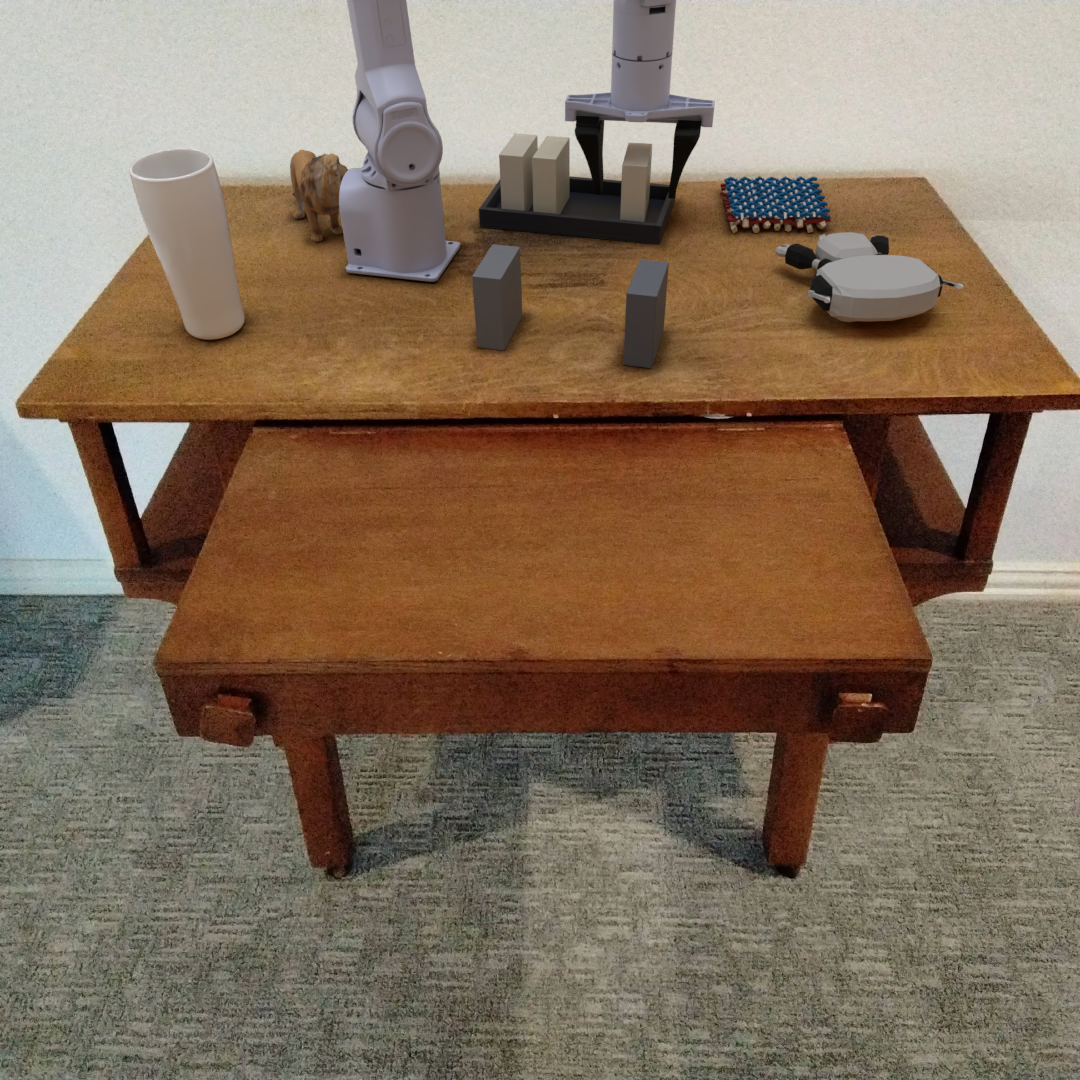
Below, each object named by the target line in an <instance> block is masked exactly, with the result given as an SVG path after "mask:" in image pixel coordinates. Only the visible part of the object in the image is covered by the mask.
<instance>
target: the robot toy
mask: <svg viewBox="0 0 1080 1080" xmlns="http://www.w3.org/2000/svg"><path fill="white" fill-rule="evenodd" d="M816 243H817V244H816V247H815V251H814V250H813V249H812V248H810V247H808V246H805V245H803V244H801V243H797V242H796V243H792V244H787V243H786V244H782V245H779V246H776V248H775V250H774V253H775V255H776V256H777V257H779V258H784V261H785V262H784V264H786V265H788V266H790V267H793V268H795V269H797V270H806V269H811V268H813V270H814V271H815V272H816V274H815V275H816V276H814V277H812V278H811V282H810V289H809V290H807V298H810V299H812V300H813V301H814V302H815V303H816V304H817V306H819V308H820V309H822V311H825V312H827V314H828V315H829V316H830V317H832V318H835V319H836V320H838V321H840V322H843V323H854V322H892V321H897V320H902V319H907V318H911V317H915V316H918V315H922V314H924V313H926V312H929V310H931V309H933V308H934V307H935V306H936V305H937V302H938V298H939V297H941V295H942V290H943V287H944V285H945V286H949V287H952V288H955V289H957V290H962V289H964V285H963V284H962V283H956V282H953V281H948V280H945V279H944V277H942V276H941V275H940V274H939V273H937V272H936V271H935V270H934V269H932V267H930V266H929V265H927V264H926V263H925V262H923V261H922V260H921V259H920V258H916V257H911V256H906V255H897V254H890V238H889V237H887V236H885V235H872V236H870V238H868V237H866V235H865V234H864V233H860V232H854V231H853V232H852V231H849V232H846V231H845V232H841V231H840V232H837V233H836V232H835V233H829V234H828V235H826V233H823V234H821V235H819V236H818V241H817V242H816Z"/></svg>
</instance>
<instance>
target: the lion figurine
mask: <svg viewBox="0 0 1080 1080" xmlns="http://www.w3.org/2000/svg"><path fill="white" fill-rule="evenodd" d="M290 159H291V160H290V164H289V170H290V171H289V172H290V173H289V174H290V181H291V185H292V186H291V187H292V190H293V192H292V196H293V197H294V203H295V210H294V213H293V218H294V220H295V219H296V220H300V219H303V218H305V216H306V218H307V220H308V224H309V228H310V231H311V235H310V240H311V241H312V242H313V243H314V242H316V243H318V242H321V241H323V240H324V238H323V231H322V229H321V227H320V223H319V220H318V214H320V215H321V216H326V215H327V216H329V228H330V230H331V231H332V232H333V233H334V234H335V235H342V234H343V228H342V225H340V220H339V216H340V209H339V192H340V185H341V182H342V179H343V177H344V175H345V173H346V172H347V171H348V170H349V169H348V167H347V166H346V165H344V164H342V163H341V161H340V157H339V156H338V155H337V154H335V153H329V154H328V153H323V154H321V155H318V156H317V155H316V154H315V153H314V152H312V151H309V150H305V149H300V150H298V151H297V152H295V153H293V155H292V157H291V158H290ZM303 204H304V205H303ZM304 210H305V211H304ZM305 214H306V215H305Z"/></svg>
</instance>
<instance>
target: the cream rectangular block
mask: <svg viewBox="0 0 1080 1080" xmlns="http://www.w3.org/2000/svg"><path fill="white" fill-rule="evenodd" d="M652 155H653V144H652V143H645V142H628V143H627V146H626V150H625V153H624V158H623V161H622V165H621V167H622V168H621V181H622V186H621V212H620V220H628V221H639V222H645V220H646V215H647V211H648V206H649V193H650V183H651V174H652V173H651V172H652V160H653V159H652V158H653V157H652Z"/></svg>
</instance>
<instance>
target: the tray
mask: <svg viewBox="0 0 1080 1080" xmlns="http://www.w3.org/2000/svg"><path fill="white" fill-rule="evenodd" d="M669 185H670V184H664V183H651V182H650V193H649V206H648V211H647V215H646V220H645V222H639V221H628V220H620V212H621V186H622V180H617V179H606V178H605V179H604V178H603V189H602V192H601V195H595V194H594V187H593V181H592V177H584V176H583V177H582V176H581V177H580V176H570V196H569V199H568V201H567V203H566V204H565V206H564V208H563V210H562V212H561V213H560V214H553V213H543V212H534V208H533V205H532V206H531V208H530V209H529V211H521V210H510V209H502V205H501V184H500V179H498V181H497V183H496V184H495V185H494V186H493V189H492V190H491V191H490V193H489V194H488V195H487V197H486V198H485V200H484V201H483V202H482V203H481V205H480V207H479V208H478V217H479V227H480V228H486V229H487V228H488V229H496V230H506V231H518V232H528V233H538V234H549V235H558V236H559V235H560V236H569V237H579V238H590V239H599V240H609V241H621V242H629V243H630V242H631V243H640V244H649V245H650V244H652V245H661V242H662V240H663V236H664V234H665V232H666V228H667V226H668V223H669V221H670V218H671V215H672V213H673V210H674V207H675V204H676V197H677V195H676V196H675V198H674V199H672V198H668V194H669Z"/></svg>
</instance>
